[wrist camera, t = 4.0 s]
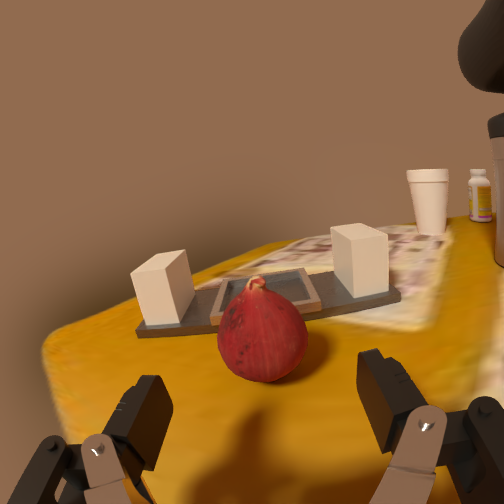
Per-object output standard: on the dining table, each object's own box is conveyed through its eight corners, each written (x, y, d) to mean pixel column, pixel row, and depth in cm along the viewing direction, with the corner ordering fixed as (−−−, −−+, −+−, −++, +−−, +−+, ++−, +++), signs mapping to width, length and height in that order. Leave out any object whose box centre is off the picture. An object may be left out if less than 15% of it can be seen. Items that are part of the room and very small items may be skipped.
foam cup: (407, 228, 54) (403, 170, 51) (443, 226, 51) (439, 169, 48) (417, 238, 46) (412, 170, 43) (457, 235, 42) (454, 169, 39)
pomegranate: (247, 419, 15) (219, 307, 13) (219, 372, 20) (195, 277, 18) (326, 383, 17) (320, 274, 15) (285, 348, 22) (272, 256, 20)
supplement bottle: (495, 220, 47) (493, 169, 44) (484, 224, 46) (482, 169, 43) (477, 217, 54) (474, 169, 51) (465, 220, 53) (462, 169, 50)
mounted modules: (362, 267, 34) (359, 222, 33) (388, 291, 26) (387, 234, 25) (168, 296, 36) (157, 253, 34) (146, 325, 28) (130, 273, 26)
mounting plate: (366, 271, 35) (366, 257, 35) (401, 302, 25) (402, 284, 24) (165, 300, 37) (162, 287, 36) (137, 339, 27) (131, 323, 26)
